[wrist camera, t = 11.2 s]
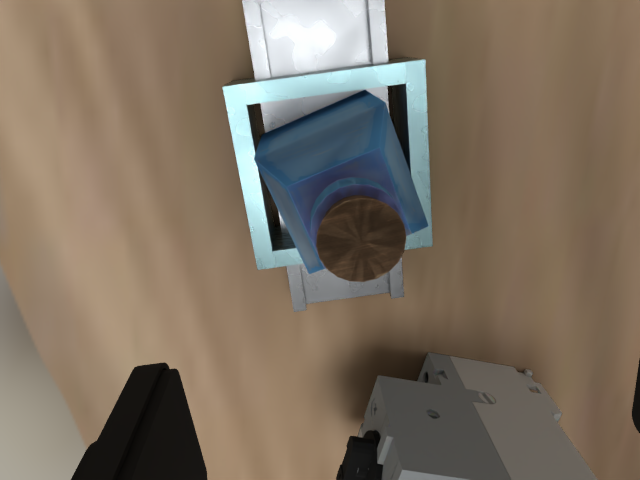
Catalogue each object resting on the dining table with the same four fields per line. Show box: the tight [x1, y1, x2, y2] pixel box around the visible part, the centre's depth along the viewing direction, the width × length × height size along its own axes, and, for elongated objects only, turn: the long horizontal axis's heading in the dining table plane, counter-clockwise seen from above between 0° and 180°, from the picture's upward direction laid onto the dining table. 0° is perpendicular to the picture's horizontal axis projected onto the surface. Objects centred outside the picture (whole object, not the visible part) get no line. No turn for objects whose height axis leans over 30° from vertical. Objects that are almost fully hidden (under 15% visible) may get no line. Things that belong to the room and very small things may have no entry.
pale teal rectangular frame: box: [223, 0, 433, 312], centre depth 28 cm, size 10×18×4 cm, turn 7°
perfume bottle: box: [254, 90, 429, 282], centre depth 22 cm, size 6×6×12 cm
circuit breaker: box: [336, 352, 598, 480], centre depth 30 cm, size 8×14×15 cm, turn 77°
